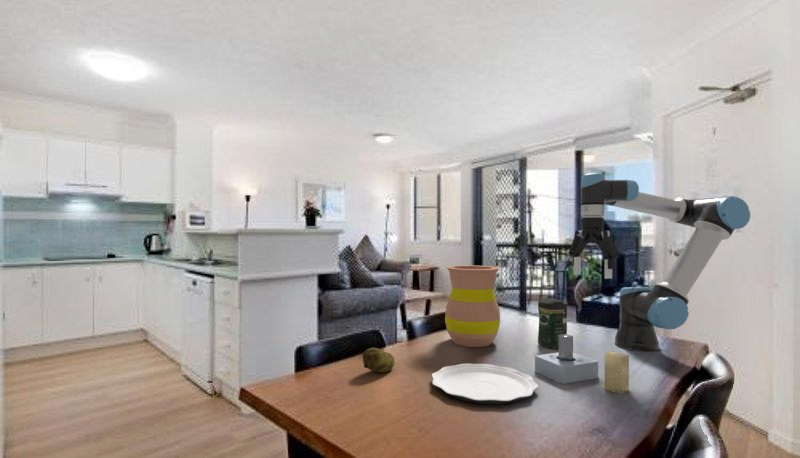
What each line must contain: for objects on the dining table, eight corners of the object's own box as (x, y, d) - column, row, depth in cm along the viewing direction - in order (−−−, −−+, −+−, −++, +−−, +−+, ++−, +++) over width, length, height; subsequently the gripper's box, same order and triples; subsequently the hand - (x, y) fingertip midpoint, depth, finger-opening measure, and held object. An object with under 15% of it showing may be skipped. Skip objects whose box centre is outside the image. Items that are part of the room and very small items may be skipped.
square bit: (612, 385, 122) (612, 351, 122) (628, 390, 118) (628, 354, 118) (604, 389, 119) (604, 353, 119) (621, 394, 115) (621, 357, 115)
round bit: (565, 371, 134) (565, 333, 134) (575, 375, 130) (576, 337, 130) (555, 373, 132) (555, 335, 132) (565, 377, 128) (565, 338, 128)
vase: (506, 349, 158) (506, 270, 158) (447, 349, 158) (448, 269, 158) (493, 335, 180) (494, 265, 180) (442, 334, 180) (442, 265, 180)
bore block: (568, 366, 139) (568, 351, 139) (598, 377, 128) (598, 361, 128) (534, 371, 134) (534, 355, 134) (563, 384, 123) (563, 366, 123)
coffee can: (569, 337, 177) (570, 304, 177) (544, 336, 179) (544, 303, 179) (564, 331, 187) (564, 300, 187) (540, 330, 189) (540, 299, 189)
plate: (473, 418, 100) (473, 408, 100) (413, 379, 126) (413, 371, 126) (560, 396, 114) (560, 387, 114) (489, 365, 140) (489, 358, 140)
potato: (404, 371, 133) (404, 346, 133) (369, 379, 125) (370, 353, 125) (388, 364, 139) (389, 340, 140) (355, 372, 132) (355, 346, 132)
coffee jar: (568, 348, 160) (568, 299, 160) (552, 350, 157) (552, 301, 157) (549, 342, 169) (549, 296, 169) (534, 344, 166) (534, 297, 166)
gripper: (558, 217, 160) (558, 273, 160) (614, 215, 137) (614, 280, 137) (573, 218, 163) (573, 272, 163) (631, 216, 140) (630, 279, 140)
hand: (592, 276), depth 150 cm, fingers open, 13 cm apart
